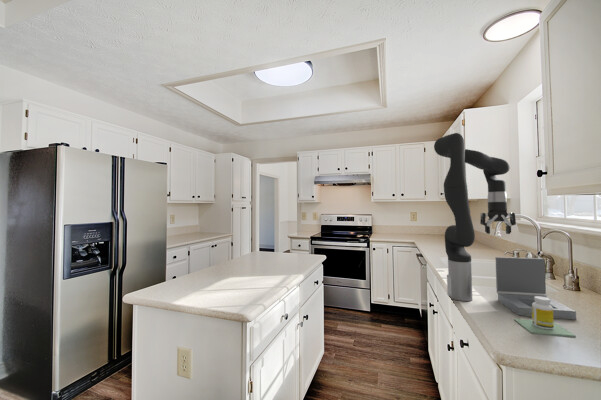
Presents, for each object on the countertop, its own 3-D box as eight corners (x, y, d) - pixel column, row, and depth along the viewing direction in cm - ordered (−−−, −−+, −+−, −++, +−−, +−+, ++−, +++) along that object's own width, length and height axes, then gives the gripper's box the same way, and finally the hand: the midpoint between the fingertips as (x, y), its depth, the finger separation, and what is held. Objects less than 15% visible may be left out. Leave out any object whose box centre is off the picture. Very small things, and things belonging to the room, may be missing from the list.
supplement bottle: (558, 330, 86) (557, 300, 86) (542, 330, 86) (541, 301, 87) (543, 322, 92) (542, 295, 92) (528, 322, 92) (527, 295, 92)
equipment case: (519, 315, 99) (517, 266, 99) (496, 299, 116) (495, 257, 116) (576, 319, 95) (574, 267, 95) (544, 302, 111) (543, 258, 112)
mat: (531, 333, 85) (531, 331, 85) (514, 320, 95) (514, 318, 95) (575, 337, 83) (575, 335, 83) (553, 323, 92) (553, 321, 92)
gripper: (484, 201, 125) (485, 234, 125) (518, 200, 122) (519, 234, 122) (477, 201, 133) (478, 232, 132) (509, 200, 129) (510, 233, 129)
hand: (498, 233), depth 127 cm, fingers open, 8 cm apart
